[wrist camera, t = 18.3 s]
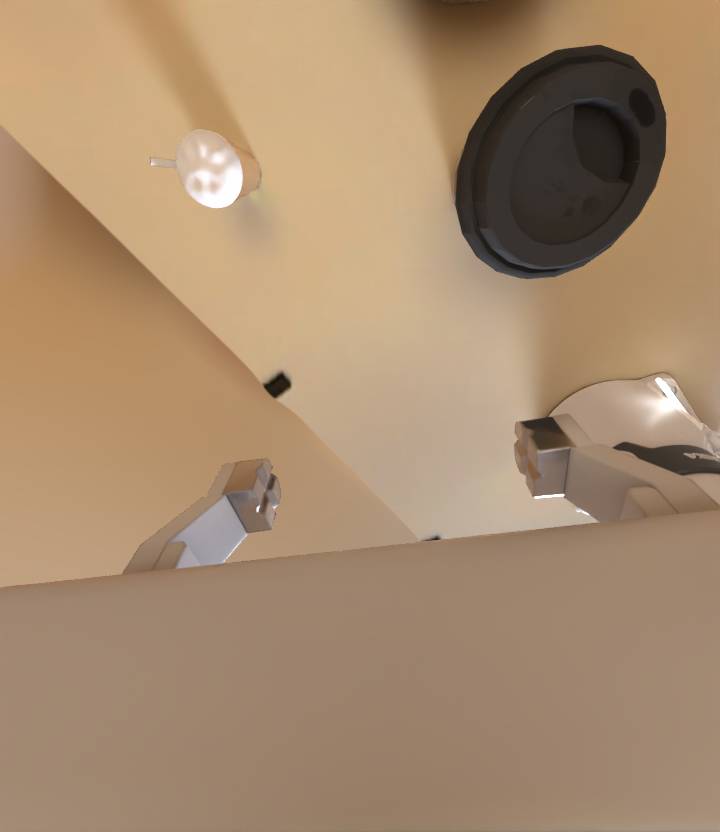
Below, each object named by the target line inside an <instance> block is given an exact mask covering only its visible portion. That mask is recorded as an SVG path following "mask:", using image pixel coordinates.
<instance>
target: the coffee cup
mask: <svg viewBox="0 0 720 832" xmlns="http://www.w3.org/2000/svg"><path fill="white" fill-rule="evenodd" d="M665 152H666V113H665V110H664V107H663V104H662V101H661V98H660V94H659V91H658V88H657V85H656V82H655V80H654V79H653V78H652V77H651V76H650V74H649V73H648V72H647V71H646V70H645V69H644V68H643V67H642V66H641V65H640V64H639V62H638V61H637V60H636V59H635V58H634V57H633V56H630V55H628V54H625V53H622V52H619V51H616V50H613V49H611V48H608V47H605V46H602V45H594V46H585V47H576V48H567V49H562V50H556V51H554V52H552V53H550V54H548V55H546V56H544V57H542V58H540V59H538V60H536V61H534V62H532V63H531V64H529V65H527V66H525V67H523V68H521V69H520V70H519V71H518V72H517V73H516V74H515V75H514V76H513V77H512V78H511V79H510V80H508V81H507V82H506V83H505V84H504V85H503V86H502V87H501V88H500V89H499V90H498V91H497V92H496V93H495V94H494V95H493V96H492V97H491V98H490V100H489V101H488V103H487V104H486V106H485V108H484V109H483V111H482V113H481V114H480V116H479V117H478V119H477V121H476V122H475V124H474V125H473V127H472V129H471V130H470V132H469V134H468V138H467V141H466V144H465V147H464V149H463V151H462V152H461V154H460V155H459V157H458V159H457V162H456V165H455V169H454V172H453V176H452V194H453V198H454V202H455V206H456V209H457V214H458V218H459V222H460V226H461V231H462V234H463V236H464V237H465V239H466V241H467V242H468V244H469V245H470V247H471V248H472V250H473V252H474V253H475V255H476V256H477V257H478V258H479V259H480V260H482V261H483V262H485V263H486V264H487V265H489V266H490V267H491V268H493V269H494V270H495V271H497V272H500V273H504V274H507V275H511V276H515V277H518V278H525V279H533V278H547V277H555V276H558V275H561V274H563V273H566V272H569V271H571V270H574V269H577V268H579V267H582V266H584V265H585V264H587V263H588V262H590V261H591V260H592V259H594V258H595V257H597V256H598V255H600V254H601V253H603V252H604V251H605V250H607V249H608V248H610V247H611V246H612V245H613V244H614V242H615V241H616V240H617V239H618V238H619V237H620V236H621V235H622V234H623V233H624V232H625V230H626V229H627V228H628V227H629V226H630V225H631V224H632V223H633V222H634V221H635V219H636V218H637V217H638V216H639V214H640V212H641V211H642V209H643V207H644V206H645V204H646V202H647V200H648V199H649V197H650V195H651V194H652V192H653V190H654V188H655V186H656V183H657V180H658V177H659V173H660V170H661V167H662V164H663V160H664V157H665Z"/></svg>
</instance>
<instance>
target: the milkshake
mask: <svg viewBox="0 0 720 832" xmlns="http://www.w3.org/2000/svg"><path fill="white" fill-rule="evenodd" d="M150 163H151V165H152V166H159V167H167V168H175V169H177V172H178V176H179V179H180V181H181V183H182V185H183V187H184V188H185V190H186V191H187V192H188V193H189V194H190V195H191V196H192V197H193V198H194V199H195V200H196V201H197V202H199V203H201V204H203V205H205V206H208V207H212V208H222V207H226V206H228V205H230V204H231V203H233V202H234V201H236V200H237V199H239V198H241V197H243V196H246V195H248V194H250V193H251V192H253V191H254V190H256V189H257V188H258V186H259V183H260V179H261V172H260V168H259V164H258V162H257V161H256V160H255V159H254V157H253V156H252V155H251V154H250V153H249V152H248V151H246V150H244V149H242V148H240V147H239V146H237V145H235V144H233V143H231V142H229V141H228V140H226V139H225V138H224V137H222V136H221V135H219V134H218V133H215V132H213V131H209V130H204V129H196V130H193V131H191V132H190V133H188V134H187V135H186V136H185V137H184V138H183V139H182V140H181V141H180V143H179V144H178V147H177V152H176V160H169V159H162V158H154V157H150Z"/></svg>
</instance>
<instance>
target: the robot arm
mask: <svg viewBox="0 0 720 832" xmlns="http://www.w3.org/2000/svg"><path fill="white" fill-rule="evenodd" d="M515 434H516V436H517V438H518V440H517V442H516V443H515V444H514V453H515V460H516V463H517V466H518V469H519V471H520V473H522V474H524V475H525V476H526V484H527V486H528V488H529V490H530V492H531V494H532V496H533V498H545V497H555V496H564V498H566V499H567V500H568V501H569V502H570V504H571V505H572V506H573V508H574V509H575V510H576V511H578V512H583V513H585V514H587V515H591V516H592V517H594V518H595V519H596V520H597V522H598V523H590V524H581V525H572V526H563V527H554V528H545V529H536V530H527V531H518V532H508V533H499V534H490V535H480V536H471V537H462V538H452V539H443V540H434V541H424V542H416V543H406V544H397V545H389V546H379V547H370V548H361V549H352V550H343V551H334V552H324V553H316V554H307V555H297V556H288V557H278V558H270V559H260V560H251V561H241V562H232V563H224V562H225V560H226V559H227V558H228V557H229V556H230V555H231V553H232V552H233V551H234V550H235V549H236V548H237V546H238V545H239V544H240V543H241V542H242V540H243V539H244V538H245V537H246V536H247V533H253V532H260V531H266V530H271V529H272V526H273V523H274V520H275V516H276V513H275V511H274V508H275V507H276V506H277V505H278V504H279V502H280V498H281V488H280V484H279V481H278V478H277V477H276V476H275V475H273V474H272V473H271V471H272V468H273V467H272V465H271V462H270V461H269V459H267V458H264V459H256V460H248V461H240V462H233V463H226V464H224V465H223V466H222V467H221V470H220V471H219V473H218V475H217V477H216V479H215V481H214V483H213V485H212V487H211V488H210V490H209V492H208V494H207V496H206V497H202V498H201V499H199V500H198V501H197V502H195V503H194V504H193V505H191V506H190V507H189V508H188V509H186V510H185V511H184V512H182V513H181V514H180V515H179V516H177V517H176V518H175V519H173V520H172V521H171V522H169V523H168V524H167V525H166V526H164V527H163V528H162V529H160V530H159V531H158V532H157V533H155V534H154V535H153V536H151V537H150V538H149V539H148V540H146V541H145V542H144V543H142V544H141V545H140V546H139V548H138V549H137V551H136V553H135V554H134V556H133V557H132V559H131V561H130V562H129V564H128V565H127V567H126V569H125V570H124V571H123V573H122V574H121V575H112V576H102V577H93V578H84V579H75V580H65V581H56V582H47V583H39V584H27V585H17V586H7V587H2V588H0V832H720V459H719V458H717V457H716V456H715V454H714V453H715V452H716V451H719V450H720V437H719V436H718V435H717V434H716V433H715V432H713V431H712V430H711V429H710V428H709V427H708V426H707V425H705V424H704V423H702V424H701V422H700V420H699V419H698V417H697V415H696V414H695V412H694V411H693V409H692V407H691V406H690V404H689V402H688V401H687V399H686V398H685V396H684V394H683V393H682V391H681V389H680V388H679V386H678V385H677V383H676V381H675V380H674V379H673V378H672V377H671V376H670V375H669V374H667V373H659V374H655V375H651V376H648V377H645V378H642V379H639V380H613V381H606V382H601V383H597V384H594V385H591V386H589V387H586V388H584V389H582V390H580V391H578V392H576V393H574V394H573V395H571V396H569V397H568V398H567V399H565V400H564V401H563V402H561V403H560V404H559V405H558V406H557V407H556V408H555V409H554V410H553V411H552V412H551V414H550V415H549V416H548V417H546V418H540V419H533V420H526V421H520V422H516V425H515Z"/></svg>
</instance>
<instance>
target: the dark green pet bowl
mask: <svg viewBox="0 0 720 832" xmlns="http://www.w3.org/2000/svg"><path fill="white" fill-rule="evenodd" d="M440 1H442V2H444V3H447V4H448V3H449V4H456V3H471V2H484V1H487V0H440Z"/></svg>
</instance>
